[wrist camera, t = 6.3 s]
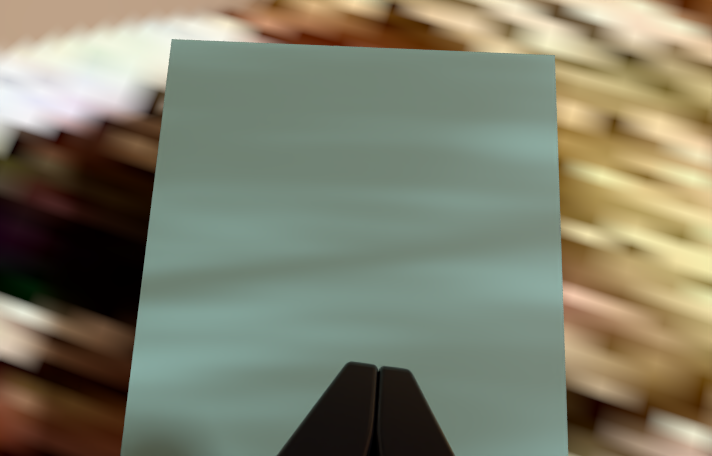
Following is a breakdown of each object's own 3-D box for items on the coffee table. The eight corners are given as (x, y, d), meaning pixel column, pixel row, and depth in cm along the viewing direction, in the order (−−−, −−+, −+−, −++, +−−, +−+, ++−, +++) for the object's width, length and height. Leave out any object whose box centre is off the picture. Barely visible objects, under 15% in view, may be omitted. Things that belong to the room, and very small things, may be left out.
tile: (570, 520, 12) (555, 55, 14) (114, 499, 12) (171, 39, 14) (520, 492, 15) (514, 122, 17) (168, 476, 15) (207, 109, 17)
